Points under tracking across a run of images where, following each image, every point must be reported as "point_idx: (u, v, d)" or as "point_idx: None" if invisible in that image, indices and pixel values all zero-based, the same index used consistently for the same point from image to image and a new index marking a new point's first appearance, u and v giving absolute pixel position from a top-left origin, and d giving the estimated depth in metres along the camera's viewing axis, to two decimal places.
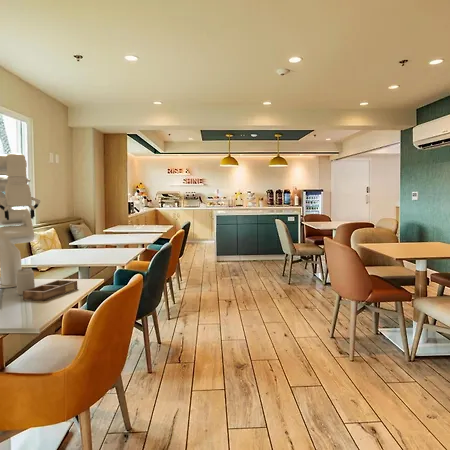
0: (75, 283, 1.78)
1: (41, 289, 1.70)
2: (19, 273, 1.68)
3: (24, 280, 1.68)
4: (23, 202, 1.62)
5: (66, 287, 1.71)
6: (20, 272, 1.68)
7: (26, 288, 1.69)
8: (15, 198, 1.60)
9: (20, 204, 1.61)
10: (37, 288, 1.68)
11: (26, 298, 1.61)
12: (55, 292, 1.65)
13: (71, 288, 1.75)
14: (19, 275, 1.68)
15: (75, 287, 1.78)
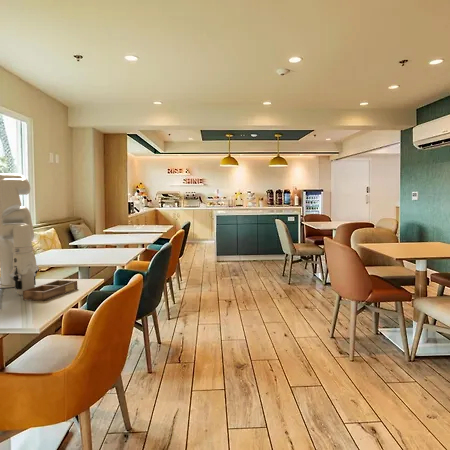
0: (75, 283, 1.78)
1: (41, 289, 1.70)
2: None
3: (24, 281, 1.68)
4: None
5: (66, 287, 1.71)
6: None
7: (26, 288, 1.69)
8: None
9: None
10: (37, 288, 1.68)
11: (26, 298, 1.61)
12: (55, 292, 1.65)
13: (71, 288, 1.75)
14: None
15: (75, 287, 1.78)
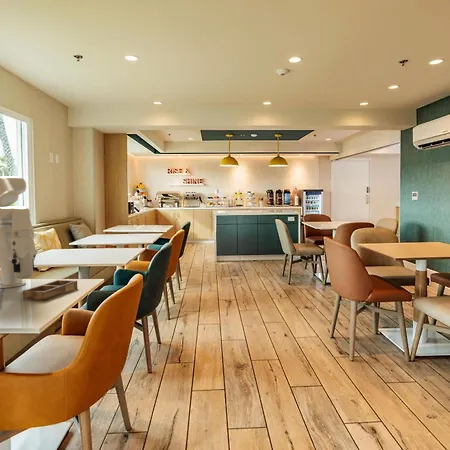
0: (75, 283, 1.78)
1: (41, 289, 1.70)
2: None
3: (23, 264, 1.68)
4: None
5: (66, 287, 1.71)
6: None
7: (24, 271, 1.69)
8: None
9: None
10: (37, 288, 1.68)
11: (26, 298, 1.61)
12: (55, 292, 1.65)
13: (71, 288, 1.75)
14: None
15: (75, 287, 1.78)
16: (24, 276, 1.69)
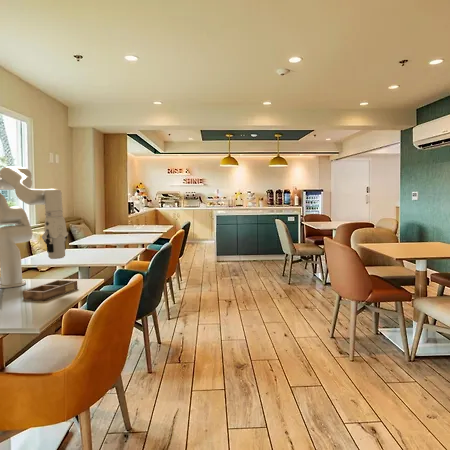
0: (75, 283, 1.78)
1: (41, 289, 1.70)
2: None
3: (56, 244, 1.70)
4: None
5: (66, 287, 1.71)
6: None
7: (57, 251, 1.71)
8: None
9: None
10: (37, 288, 1.68)
11: (26, 298, 1.61)
12: (55, 292, 1.65)
13: (71, 288, 1.75)
14: None
15: (75, 287, 1.78)
16: (57, 256, 1.71)
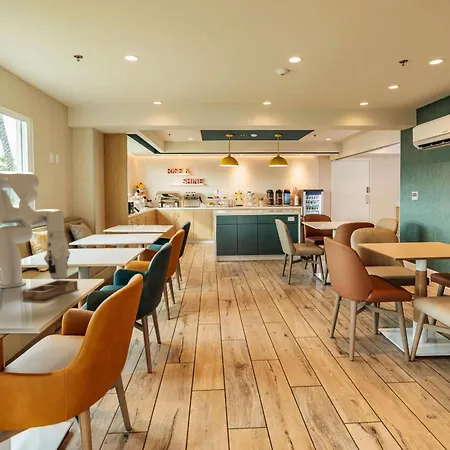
0: (75, 283, 1.78)
1: (41, 289, 1.70)
2: None
3: (58, 265, 1.71)
4: None
5: (66, 287, 1.71)
6: None
7: (59, 272, 1.72)
8: None
9: None
10: (37, 288, 1.68)
11: (26, 298, 1.61)
12: (55, 292, 1.65)
13: (71, 288, 1.75)
14: None
15: (75, 287, 1.78)
16: (59, 277, 1.72)
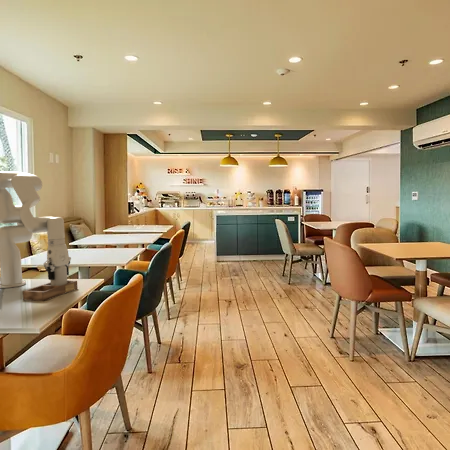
0: (75, 283, 1.78)
1: (41, 289, 1.70)
2: None
3: (58, 275, 1.72)
4: None
5: (66, 287, 1.71)
6: None
7: (60, 282, 1.72)
8: None
9: None
10: (37, 288, 1.68)
11: (26, 298, 1.61)
12: (55, 292, 1.65)
13: (71, 288, 1.75)
14: (53, 270, 1.71)
15: (75, 287, 1.78)
16: None
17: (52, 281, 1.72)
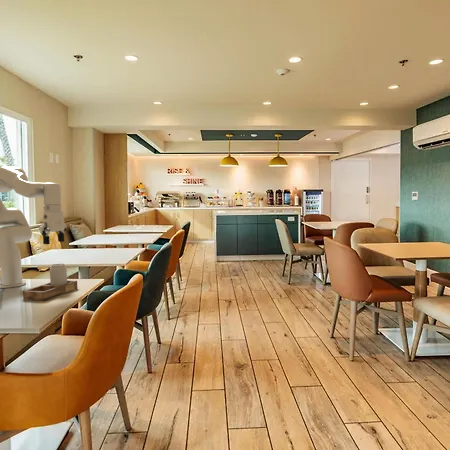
0: (75, 283, 1.78)
1: (41, 289, 1.70)
2: (53, 268, 1.71)
3: (58, 275, 1.72)
4: None
5: (66, 287, 1.71)
6: (54, 267, 1.72)
7: (60, 283, 1.72)
8: None
9: None
10: (37, 288, 1.68)
11: (26, 298, 1.61)
12: (55, 292, 1.65)
13: (71, 288, 1.75)
14: (53, 270, 1.71)
15: (75, 287, 1.78)
16: None
17: (52, 281, 1.72)
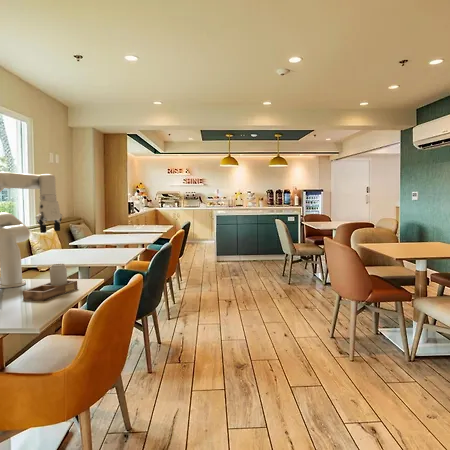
0: (75, 283, 1.78)
1: (41, 289, 1.70)
2: (53, 268, 1.71)
3: (58, 275, 1.72)
4: None
5: (66, 287, 1.71)
6: (54, 267, 1.71)
7: (60, 283, 1.72)
8: None
9: None
10: (37, 288, 1.68)
11: (26, 298, 1.61)
12: (55, 292, 1.65)
13: (71, 288, 1.75)
14: (53, 270, 1.71)
15: (75, 287, 1.78)
16: None
17: (52, 281, 1.72)
